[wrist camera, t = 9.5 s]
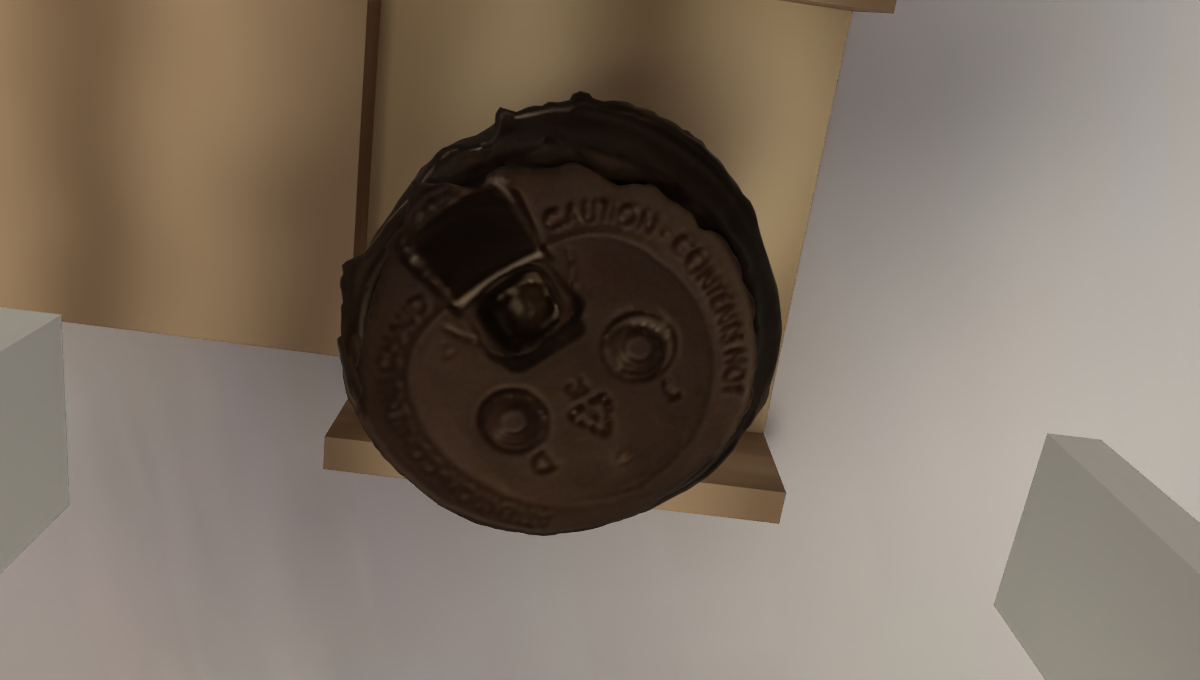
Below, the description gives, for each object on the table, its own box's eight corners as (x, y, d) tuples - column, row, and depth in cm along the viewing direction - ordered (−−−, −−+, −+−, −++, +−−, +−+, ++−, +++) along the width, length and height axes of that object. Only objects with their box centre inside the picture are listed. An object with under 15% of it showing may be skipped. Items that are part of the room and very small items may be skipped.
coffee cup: (442, 37, 27) (320, 71, 15) (735, 72, 28) (848, 131, 16) (425, 331, 30) (311, 559, 18) (692, 358, 31) (757, 600, 18)
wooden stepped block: (-142, 339, 31) (-268, 397, 27) (-205, -184, 26) (-372, -222, 22) (753, 450, 33) (778, 523, 28) (853, -27, 28) (903, -31, 23)
